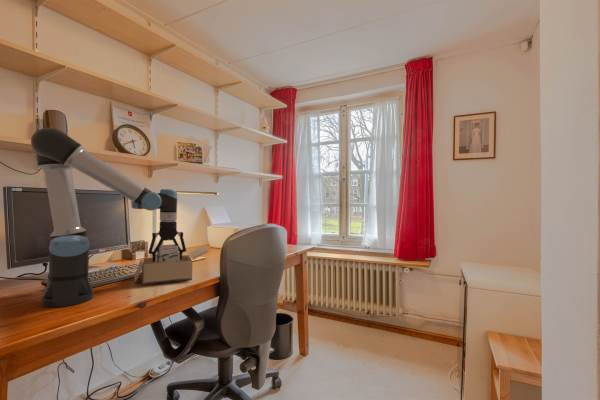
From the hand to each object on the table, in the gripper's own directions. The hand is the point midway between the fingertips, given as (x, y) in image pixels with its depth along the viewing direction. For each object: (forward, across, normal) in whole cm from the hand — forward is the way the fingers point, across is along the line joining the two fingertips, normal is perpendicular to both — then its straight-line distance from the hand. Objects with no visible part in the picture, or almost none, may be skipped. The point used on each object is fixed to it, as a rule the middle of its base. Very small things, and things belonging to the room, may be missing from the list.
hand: (167, 267), depth 141 cm
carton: (+5, -2, +1) cm, 6 cm away
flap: (-4, +10, 0) cm, 11 cm away
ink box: (+1, 0, 0) cm, 1 cm away
